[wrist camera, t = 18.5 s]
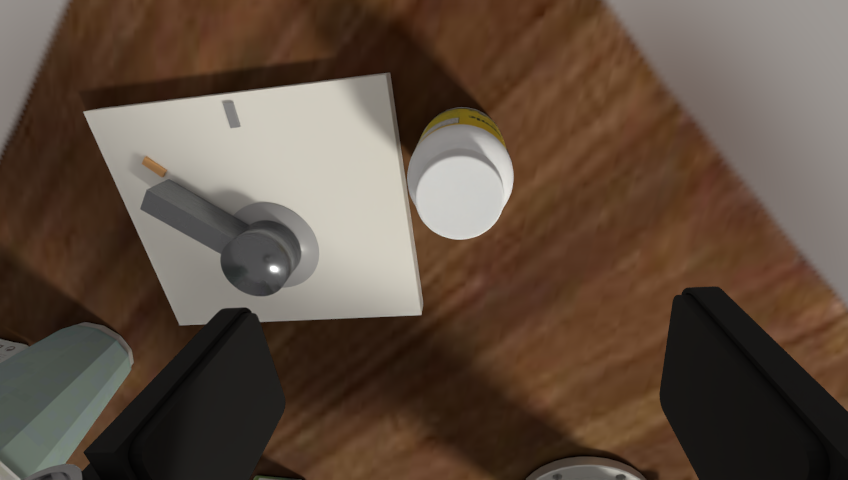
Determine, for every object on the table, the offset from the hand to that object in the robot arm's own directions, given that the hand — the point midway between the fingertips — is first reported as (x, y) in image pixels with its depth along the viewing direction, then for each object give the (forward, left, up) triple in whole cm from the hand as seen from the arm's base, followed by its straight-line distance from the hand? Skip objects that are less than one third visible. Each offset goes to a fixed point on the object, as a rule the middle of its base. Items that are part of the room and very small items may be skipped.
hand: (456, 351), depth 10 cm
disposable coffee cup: (+34, +16, -20) cm, 42 cm away
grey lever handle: (+16, +4, -18) cm, 24 cm away
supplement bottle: (0, 0, -20) cm, 20 cm away
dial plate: (+14, +4, -20) cm, 24 cm away
